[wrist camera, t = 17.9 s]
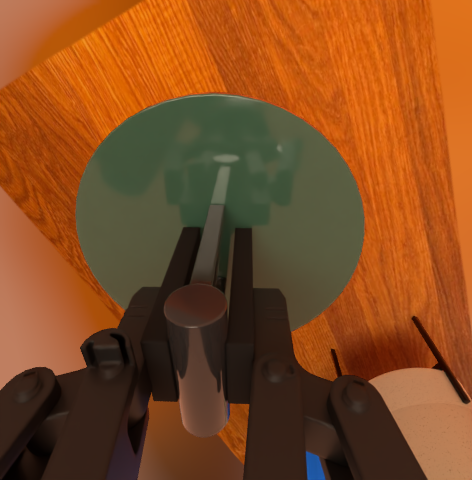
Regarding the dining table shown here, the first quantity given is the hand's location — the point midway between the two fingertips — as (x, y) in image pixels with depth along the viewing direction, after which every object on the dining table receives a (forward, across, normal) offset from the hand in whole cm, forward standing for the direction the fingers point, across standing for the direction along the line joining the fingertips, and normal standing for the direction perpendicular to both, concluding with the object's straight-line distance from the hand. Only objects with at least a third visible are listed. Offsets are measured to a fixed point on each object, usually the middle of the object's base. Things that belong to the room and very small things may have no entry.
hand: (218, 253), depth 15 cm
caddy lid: (+1, 0, 0) cm, 1 cm away
